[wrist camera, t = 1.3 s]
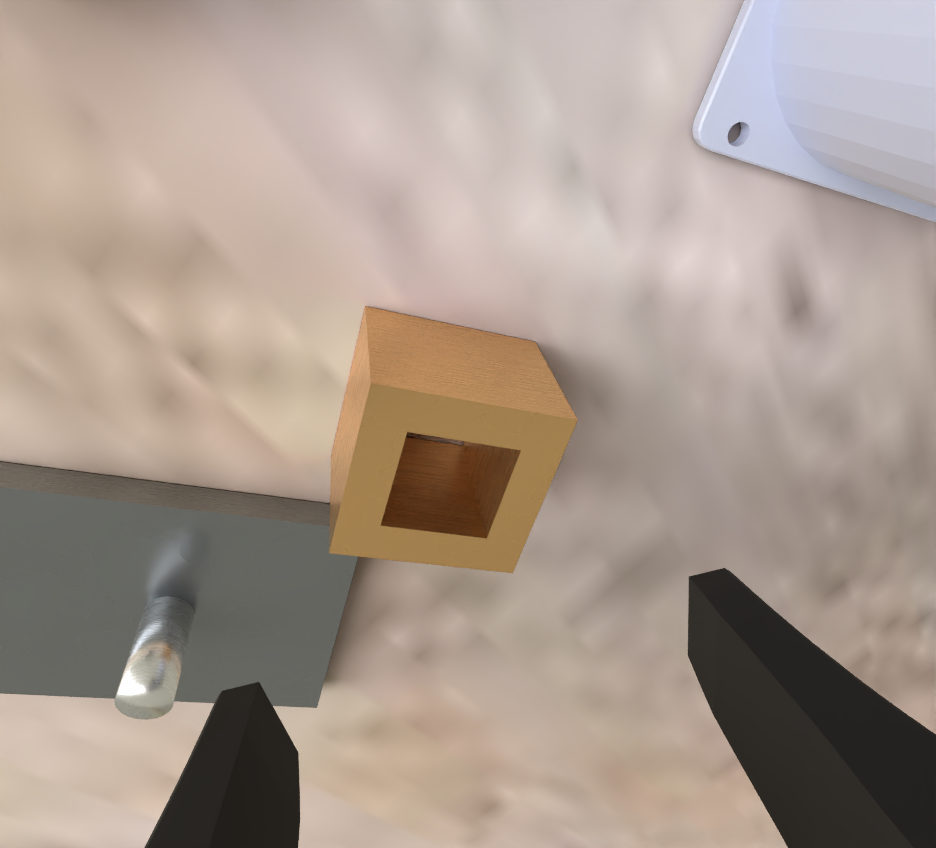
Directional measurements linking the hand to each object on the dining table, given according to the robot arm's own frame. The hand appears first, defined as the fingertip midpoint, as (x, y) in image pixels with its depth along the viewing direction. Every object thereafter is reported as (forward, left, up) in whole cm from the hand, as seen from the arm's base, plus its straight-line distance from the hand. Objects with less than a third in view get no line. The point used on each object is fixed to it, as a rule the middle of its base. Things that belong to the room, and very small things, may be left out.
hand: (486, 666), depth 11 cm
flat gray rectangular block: (+6, +8, -9) cm, 13 cm away
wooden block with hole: (0, 0, -9) cm, 9 cm away
